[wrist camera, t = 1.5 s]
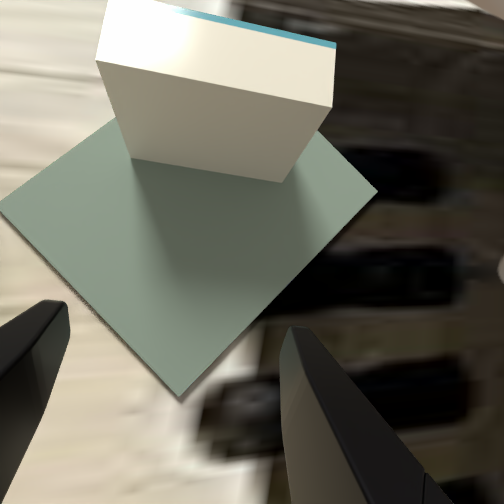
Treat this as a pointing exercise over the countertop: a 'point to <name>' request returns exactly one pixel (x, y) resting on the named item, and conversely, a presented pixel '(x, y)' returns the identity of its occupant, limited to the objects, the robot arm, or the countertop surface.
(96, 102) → the countertop surface
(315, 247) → the mat
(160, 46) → the white box
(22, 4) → the countertop surface
